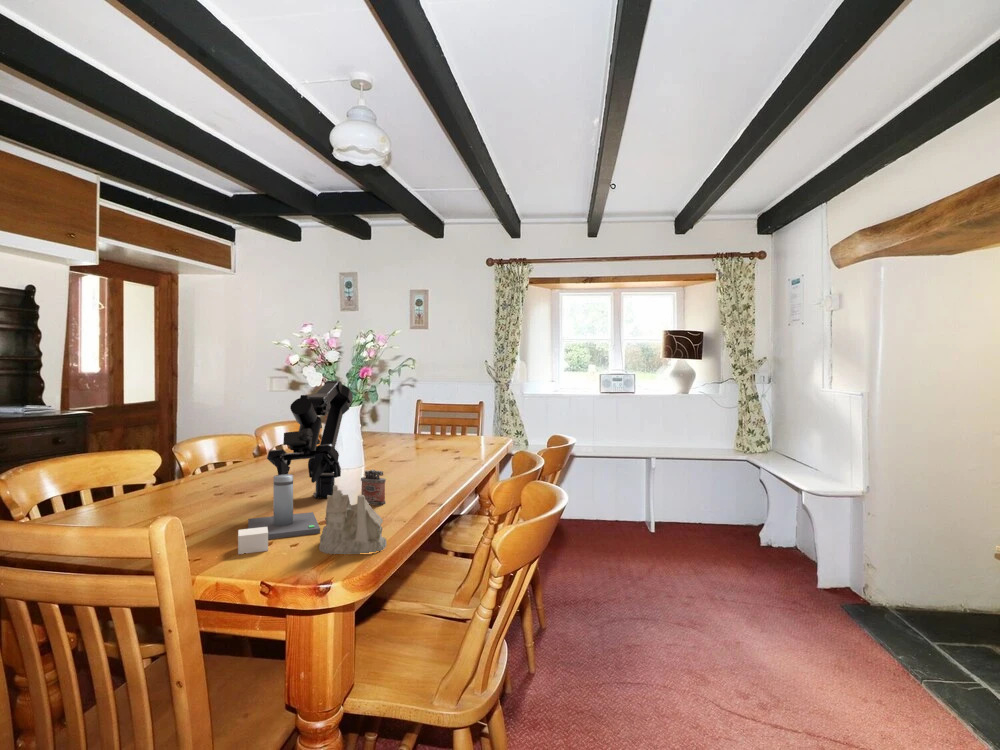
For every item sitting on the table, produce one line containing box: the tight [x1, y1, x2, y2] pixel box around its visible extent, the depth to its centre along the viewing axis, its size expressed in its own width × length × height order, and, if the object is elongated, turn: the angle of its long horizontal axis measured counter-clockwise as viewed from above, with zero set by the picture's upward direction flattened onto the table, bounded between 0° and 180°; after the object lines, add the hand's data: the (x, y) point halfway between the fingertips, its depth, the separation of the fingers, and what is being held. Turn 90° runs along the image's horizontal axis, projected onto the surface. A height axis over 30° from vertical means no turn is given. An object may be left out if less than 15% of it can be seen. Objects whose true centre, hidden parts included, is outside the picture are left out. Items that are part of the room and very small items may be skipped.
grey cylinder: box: [272, 473, 294, 526], centre depth 136 cm, size 5×5×12 cm
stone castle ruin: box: [318, 484, 387, 555], centre depth 125 cm, size 16×16×15 cm
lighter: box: [360, 469, 387, 506], centre depth 161 cm, size 8×3×10 cm, turn 70°
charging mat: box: [237, 511, 321, 555], centre depth 132 cm, size 24×18×4 cm
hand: (296, 483), depth 145 cm, fingers open, 9 cm apart
